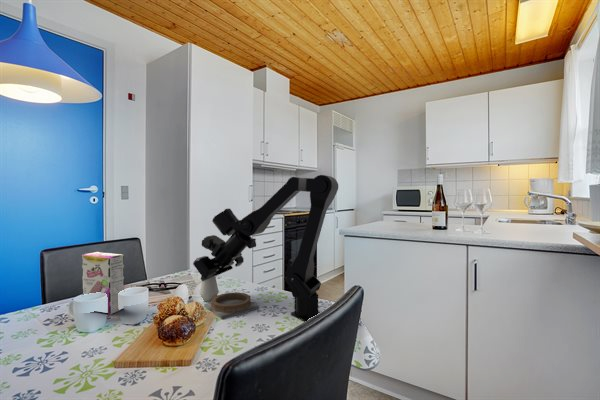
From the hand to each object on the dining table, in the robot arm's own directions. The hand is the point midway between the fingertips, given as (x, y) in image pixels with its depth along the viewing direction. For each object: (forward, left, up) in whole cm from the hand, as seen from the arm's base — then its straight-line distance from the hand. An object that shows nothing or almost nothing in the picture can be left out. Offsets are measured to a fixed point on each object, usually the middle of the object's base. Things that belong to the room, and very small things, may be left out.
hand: (205, 278), depth 97 cm
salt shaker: (-1, -1, -7) cm, 7 cm away
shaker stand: (-12, -3, -7) cm, 14 cm away
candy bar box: (+11, +26, -7) cm, 29 cm away
